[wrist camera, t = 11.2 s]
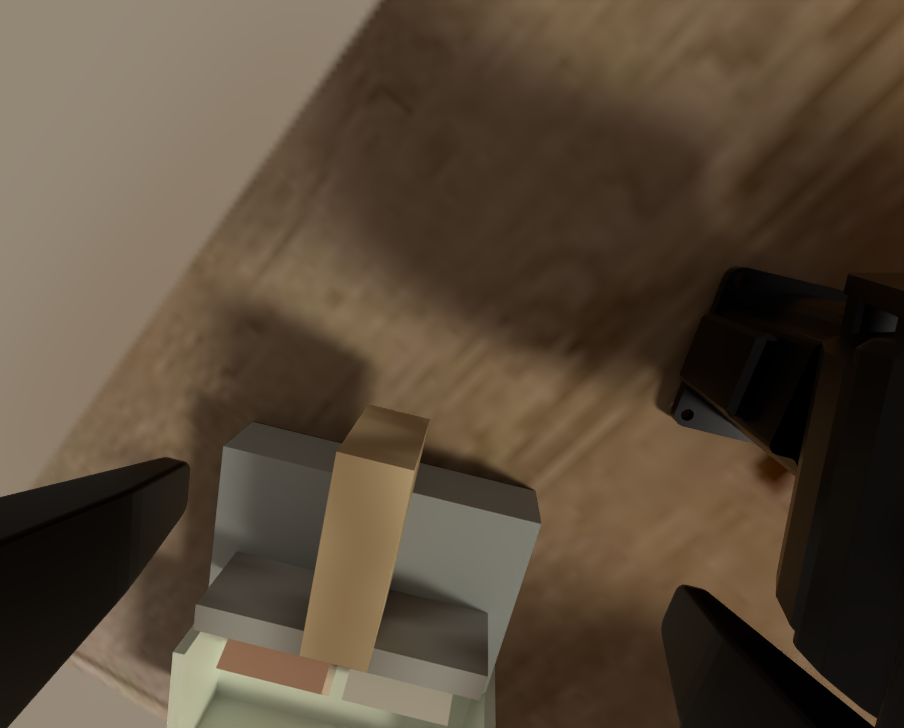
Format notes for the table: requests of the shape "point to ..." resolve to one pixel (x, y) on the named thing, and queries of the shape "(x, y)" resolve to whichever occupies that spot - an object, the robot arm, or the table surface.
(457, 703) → the tray
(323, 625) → the scraper
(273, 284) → the table surface
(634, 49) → the table surface
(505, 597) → the grey stepped riser
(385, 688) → the tile cream
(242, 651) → the tile terracotta
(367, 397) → the table surface
